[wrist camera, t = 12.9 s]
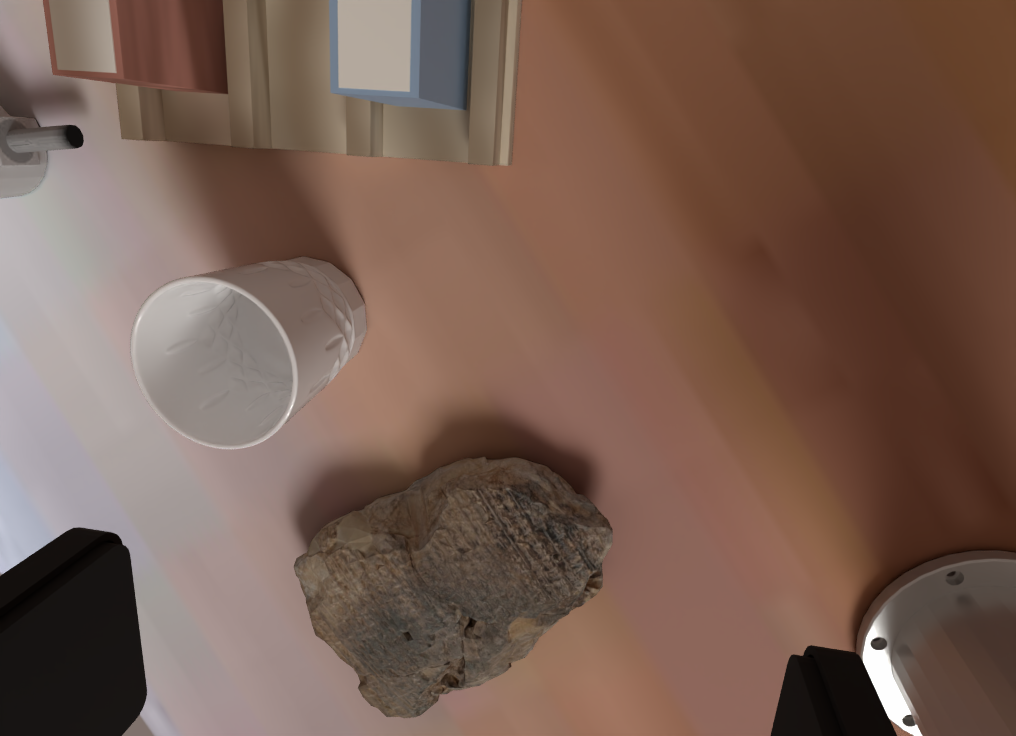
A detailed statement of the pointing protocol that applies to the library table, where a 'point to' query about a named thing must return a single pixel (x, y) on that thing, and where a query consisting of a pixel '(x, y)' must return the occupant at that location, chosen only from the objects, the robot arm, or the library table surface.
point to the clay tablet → (452, 578)
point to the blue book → (401, 51)
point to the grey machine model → (29, 151)
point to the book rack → (276, 78)
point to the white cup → (244, 347)
